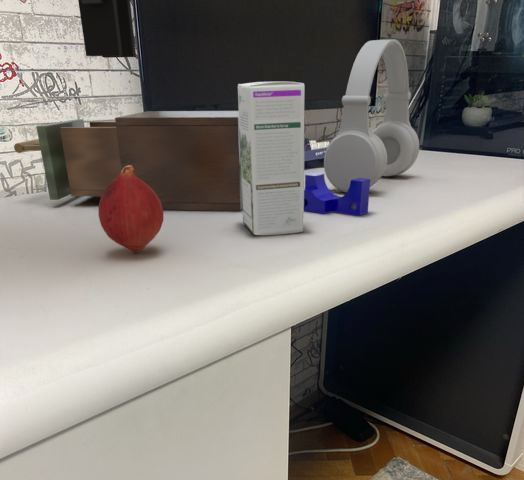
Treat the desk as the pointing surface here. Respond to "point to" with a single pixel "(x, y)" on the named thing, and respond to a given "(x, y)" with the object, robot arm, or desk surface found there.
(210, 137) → the cabinet
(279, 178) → the syrup box
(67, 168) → the drawer
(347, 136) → the headphones
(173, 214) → the desk surface
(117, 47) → the robot arm
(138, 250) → the onion
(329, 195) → the cable holder
